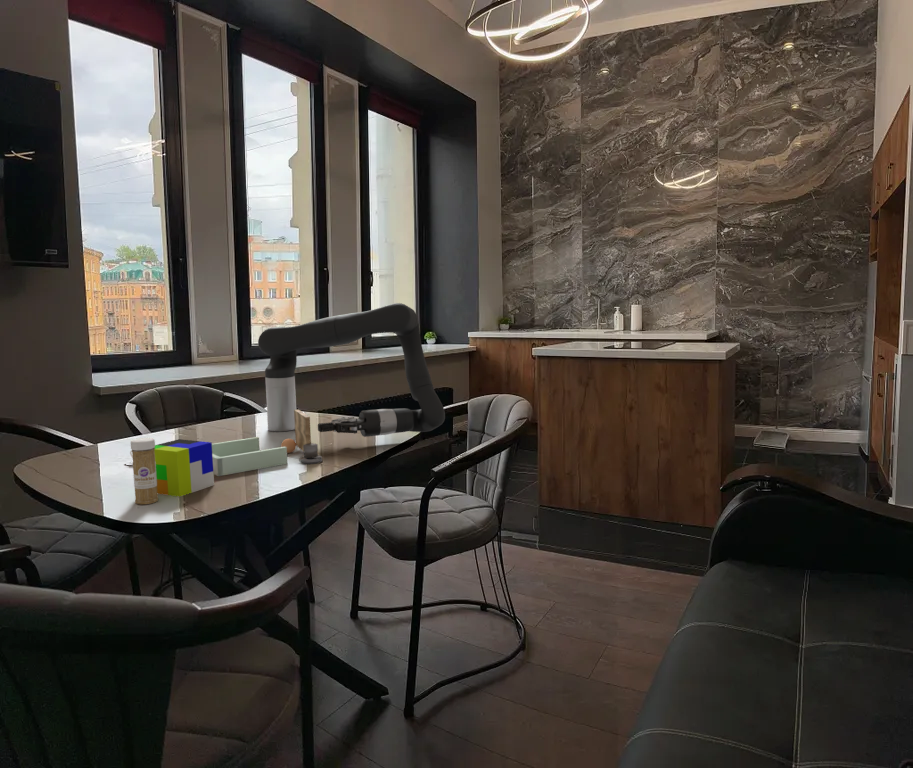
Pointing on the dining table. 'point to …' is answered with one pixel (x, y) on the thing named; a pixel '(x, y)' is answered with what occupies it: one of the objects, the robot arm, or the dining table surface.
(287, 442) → the ball
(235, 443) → the tray
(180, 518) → the dining table surface
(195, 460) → the puzzle toy
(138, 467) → the sprinkles bottle
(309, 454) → the tan wooden flat panel
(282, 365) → the robot arm
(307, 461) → the pivot disc
